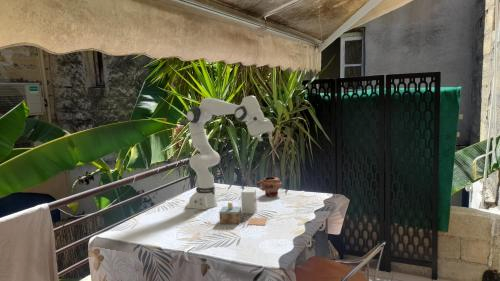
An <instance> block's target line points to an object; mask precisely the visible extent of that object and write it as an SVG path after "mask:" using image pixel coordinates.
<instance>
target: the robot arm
mask: <svg viewBox="0 0 500 281" xmlns="http://www.w3.org/2000/svg"><path fill="white" fill-rule="evenodd" d="M226 115H234V117H235V119H236V121H238V122H245V125H246V126H247V127H246V128H247V131H248V133H249V135H250V136H251V137H252V136H255V137H256V138H257V140H258V141H259V142H263V141H264V139H263V137H261V136H260V135H262V134H266V133H267V135H268V139H269V140H272V139H273V132H274V131H275V127H274V124H273V122H272V121H271V120H270V119H269V118H268V117H265V115H264V113H263V111H262V110H261V106H260V102H259V101H258V99H257V98H256V96H254V95H247V96H244V97H242V101H241V103H240V104H235V103H231V102H229V101H225V100H221V99H218V98H214V97H205V98H203V99H201V101H200V105H199V106H194V107H191V108H189V109H188V111H187V112H186V119H187V121H188V122H189V123H188V129H189V135H190V139H191V143H192V147H194V148H195V149H196V150H198V151H199V153H197V154H195V155H192V156H191V157H190V158H189V161H188V162H189V166H190V168H191V170H194V171H195V173H196V175H197V179H198V185H197V186H196V187H195V193H193V194H192V195H191V196H190V198H189V201H188V202H187V203H186V206H185V207H186V209H197V210H207V209H211V208H214V207H216V206H218V202H217V198H216V188H215V186H216V185H215V181H214V180H215V179H214V175H213V173H212V172H210V171H209V168H211V167H214V166H216V165H218V164H220V161H221V155H220V154H219V153H218V152H217V151H215V150H214V149H213V148H212V146H211V144H210V142H209V141H208V137H207V134H206V133H207V132H206V130H205V124H207V125H208V124H210V122H211V121H213V120H214V119H215V116H226Z"/></svg>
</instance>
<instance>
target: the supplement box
mask: <svg viewBox="0 0 500 281" xmlns="http://www.w3.org/2000/svg"><path fill="white" fill-rule="evenodd" d="M240 195H241V197H240V198H241V214H253V215H255V214H256V212H257V209H258V206H257V204H258V203H257V202H258V201H257V189H256V188H243V190H241V192H240Z"/></svg>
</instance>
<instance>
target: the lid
mask: <svg viewBox="0 0 500 281" xmlns="http://www.w3.org/2000/svg"><path fill="white" fill-rule="evenodd" d="M240 210H241V211H242V206H233V202H228V203H227V206H222V208H221V209H220V210H219V213H236V214H238V213H239V212H240ZM219 213H218V214H219Z"/></svg>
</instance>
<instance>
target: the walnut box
mask: <svg viewBox="0 0 500 281" xmlns="http://www.w3.org/2000/svg"><path fill="white" fill-rule="evenodd" d="M218 214H219V224H220V225H240V223H241V220H242V219H243V217H242V215H243V213H242V209H241V210H240V212H239V213H238V214H236V213H218Z"/></svg>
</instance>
